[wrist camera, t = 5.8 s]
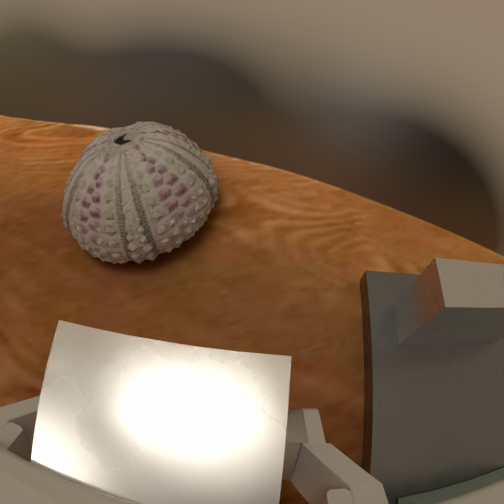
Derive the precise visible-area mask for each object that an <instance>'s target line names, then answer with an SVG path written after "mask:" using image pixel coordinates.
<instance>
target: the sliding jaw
mask: <svg viewBox="0 0 504 504" xmlns="http://www.w3.org/2000/svg"><path fill="white" fill-rule="evenodd" d="M502 479H504V467H503V468H500V469H498V470H495V471H493V472H490V473H488V474H485V475H482V476H479V477H476V478H474V479H471V480H468V481H464V482H461V483H458V484H455V485H451V486H448V487H444V488H441V489H437V490H433V491H429V492H425V493H420V494H416V495H411V496H406V497H401V498H398V504H434V503H438V502H441V501H445V500H448V499H451V498H454V497H457V496H460V495H463V494H466V493H469V492H472V491H475V490H477V489H480V488H482V487H485V486H487V485H490V484H492V483H495V482H497V481H499V480H502Z"/></svg>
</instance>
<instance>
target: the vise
mask: <svg viewBox="0 0 504 504" xmlns="http://www.w3.org/2000/svg"><path fill="white" fill-rule="evenodd" d="M360 289H361V302H362V317H363V337H364V370H365V411H364V442H363V460H362V469H363V470H365V471H366V472H367V473H369V474H370V475H371V476H373V477H374V478H375V479H377V480H378V481H379V482H381V483H382V485H383V488H384V491H385V494H386V497H387V500H388V503H389V504H398V498H401V497H406V496H411V495H416V494H420V493H425V492H429V491H433V490H437V489H441V488H444V487H448V486H451V485H455V484H458V483H461V482H464V481H468V480H471V479H474V478H476V477H479V476H482V475H485V474H488V473H490V472H493V471H495V470H498V469H500V468H503V467H504V265H501V264H492V263H483V262H473V261H464V260H454V259H445V258H434V259H433V261H432V262H431V263H430V264H429V265H428V266H427V268H426V269H425V270H424V271H423V272H422V274H421V275H415V274H402V273H389V272H376V271H366V272H365V273H364V275H363V276H362V278H361V280H360Z"/></svg>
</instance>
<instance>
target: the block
mask: <svg viewBox="0 0 504 504" xmlns="http://www.w3.org/2000/svg"><path fill="white" fill-rule="evenodd" d="M290 371H291V356H283V355H270V354H259V353H248V352H239V351H230V350H221V349H213V348H205V347H198V346H191V345H184V344H177V343H171V342H164V341H158V340H152V339H147V338H141V337H136V336H130V335H125V334H120V333H115V332H110V331H105V330H101V329H96V328H91V327H87V326H83V325H78V324H74V323H70V322H66V321H62V320H59V322H58V325H57V329H56V332H55V336H54V339H53V343H52V347H51V351H50V355H49V359H48V363H47V367H46V371H45V376H44V380H43V385H42V390H41V395H40V400H39V406H38V412H37V418H36V424H35V431H34V438H33V446H32V455H31V463H33V464H35V465H37V466H39V467H41V468H43V469H45V470H47V471H49V472H52V473H54V474H56V475H58V476H61V477H63V478H65V479H68V480H70V481H72V482H75V483H77V484H80V485H83V486H85V487H88V488H91V489H93V490H96V491H99V492H102V493H105V494H108V495H111V496H114V497H117V498H120V499H124V500H127V501H130V502H134V503H138V504H279V501H280V492H281V482H282V472H283V462H284V451H285V440H286V428H287V415H288V401H289V387H290Z"/></svg>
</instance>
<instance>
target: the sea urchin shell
mask: <svg viewBox="0 0 504 504" xmlns="http://www.w3.org/2000/svg"><path fill="white" fill-rule="evenodd" d="M210 162H211V158H209V157H208V156H206V155H205V154H204V152H203V151H202V150H201V149H200V148H199V147H198V146H197V143H194V142H192V141H191V140H190V139H188V138H187V137H186V135H185V134H181V132H180V131H179V130H174V129H172V127H169V126H167V125H163V124H160V123H155V122H136V123H135V124H134V125H130V126H126V127H122V128H113V129H112V130H108V131H105V132H103V133H100V134H99V135H98V136H97V137H96V138H95V139H94V140H92V141H91V143H90V144H87V145H86V149H85V150H83V153H82V155H81V157H80V158H79V160H78V161H77V164H76V166H75V168H74V169H73V170H71V171H70V175H71V176H70V178H69V179H68V180H67V181H65V183H66V185H67V187H66V188H65V190H64V194H65V195H64V199H63V206H62V209H63V212H62V214H61V217H62V218H63V223H64V226H63V227H66V228H67V231H68V235H72V236H73V237H74V240H77V242H78V245H79V247H81V248H82V250H87V251H88V253H89V255H92V257H98V258H99V259H100V260H101V261H102V262H103V261H108V262H112V263H113V264H116V263H118V262H119V263H120V264H122V263H126V262H128V261H135V262H137V263H138V264H139V263H141V262H143V261H144V260H146V259H147V260H152V261H154V260H155V258H156V257H157V256H158V254H161V253H164V252H169V253H170V252H171V251H172V249H173V248H178V247H180V245H181V244H182V242H183V241H185V240H188V239H190V237H193V236H194V234H195V231H198V230H199V228H200V227H201V226H203V224H204V222H205V221H206V220H208V218H207V215H208V214H209V213H210V209H211V208H213V207H215V203H214V202H216V201H217V200H218V197H217V194H218V193H219V192H218V188H219V186H220V184H219V183H218V181H217V178H218V177H217V176H216V175H215V174H214V170H215V169H214V167H213V166H212V164H211V163H210Z"/></svg>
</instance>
